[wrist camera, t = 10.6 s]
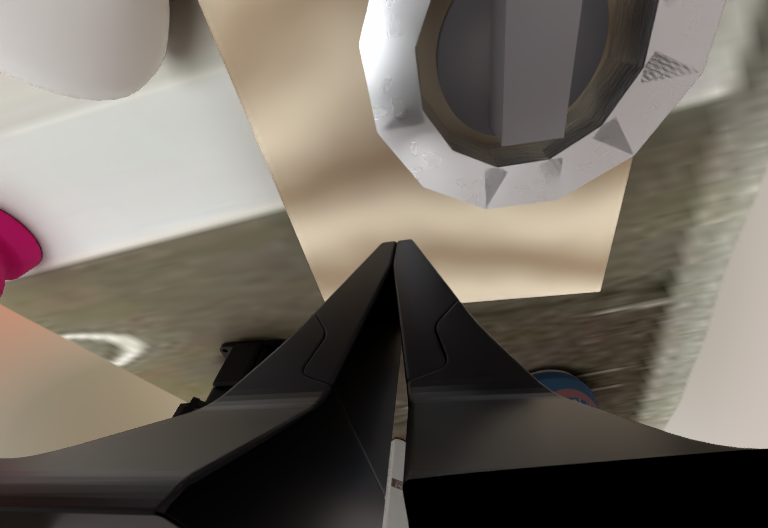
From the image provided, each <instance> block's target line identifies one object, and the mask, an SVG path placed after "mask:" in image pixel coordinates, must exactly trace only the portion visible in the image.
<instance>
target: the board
mask: <svg viewBox="0 0 768 528" xmlns="http://www.w3.org/2000/svg"><path fill="white" fill-rule="evenodd" d="M452 1H453V0H431V1H430V4H429V7H428V10H427V13H426V16H425V19H424V22H423V25H422V28H421V31H420V34H419V37H418V40H417V43H416V49H417V57H418V65H419V73H420V81H421V89H422V95H423V97H424V98H425V99H426V101H427V102H428V104H429V105H430V106H431V108H432V109H433V110H434V112H435V113H436V114H437V116H438V117H439V119H440V120H441V121H442V123H443V124H444V125H445V127H446V128H447V129H448V131H451V132H453V133H456V134H459V135H461V136H464V137H466V138H469V139H472V140H474V141H477V142H480V143H482V144H485V145H492V144H498V143H499V141H498V139H497V138H496V136H491V135H486V134H483V133H480V132H477V131H475V130H473V129H471V128H470V127H468V126H467V125H465V124H464V123H463V122H462V121H461V120H460V119H459V118H457V117H456V115H455V114H454V113H453V111H452V110H451V109H450V107H449V105H448V104H447V102H446V100H445V97H444V95H443V93H442V90H441V86H440V82H439V78H438V74H437V67H436V49H437V41H438V36H439V31H440V28H441V25H442V22H443V19H444V16H445V14H446V12H447V10H448V7H449V6H450V4H451V2H452ZM607 1H608V9H609V27H608V35H607V40H606V45H605V49H604V52H603V55H602V58H601V61H600V63H599V65H598V68H597V70H596V72H595V74H594V76H593V77H592V79H591V81H590V82H589V84H588V86H589V85H590V83H591V82H592V80H593V79H594V77H595V76H596V74H597V72H598V71H599V69H600V68H601V66H602V65H603V63H604V62H605V60H606V59H607V56H608V50H609V44H610V38H611V32H612V26H613V20H614V14H615V8H616V2H617V0H607ZM198 2H199V4H200V7H201V9H202V11H203V14H204V16H205V19H206V21H207V23H208V26H209V28H210V30H211V33H212V35H213V38H214V40H215V42H216V45H217V47H218V49H219V52H220V54H221V57H222V59H223V61H224V64H225V66H226V68H227V71H228V73H229V76H230V78H231V80H232V83H233V85H234V87H235V90H236V92H237V95H238V97H239V99H240V102H241V104H242V106H243V109H244V111H245V113H246V116H247V118H248V121H249V123H250V125H251V128H252V130H253V132H254V135H255V137H256V140H257V142H258V144H259V147H260V149H261V151H262V154H263V156H264V159H265V161H266V163H267V166H268V168H269V170H270V173H271V175H272V178H273V180H274V182H275V185H276V187H277V189H278V192H279V194H280V197H281V199H282V201H283V204H284V206H285V208H286V211H287V213H288V216H289V218H290V220H291V223H292V225H293V227H294V230H295V232H296V235H297V237H298V239H299V242H300V244H301V246H302V249H303V251H304V254H305V256H306V258H307V261H308V263H309V265H310V268H311V270H312V273H313V275H314V277H315V280H316V282H317V284H318V287H319V289H320V292H321V294H322V296H323V299H324V301H326V300H327V299H328V298H329V297H330V296H331V295H332V294H333V293H334V292H335V291H336V290H337V289H338V288H339V287H340V286H341V285H342V284H343V282H344V281H345V280H346V279H347V278H348V277H349V276H350V275H351V274H352V273H353V272H354V271H355V270H356V269H357V268H358V267H359V266H360V265H361V264H362V263H363V262H364V261H365V260H366V259H367V258H368V257H369V256H370V255H371V253H372V252H373V251H374V250H375V249H376V248H377V247H378V246H379V245H380V244H381V243H383V242H391V241H396V242H398V241H399V240H407V239H412V240H413V241H414V242H415V243H416V245H417V246H418V247H419V249H420V250H421V251H422V252H423V254H424V255H425V256H426V258H427V259H428V260H429V262H430V263H431V264H432V265H433V267H434V268H435V269H436V271H437V272H438V273H439V274H440V276H441V277H442V278H443V280H444V281H445V282H446V283H447V285H448V286H449V287H450V289H451V290H452V291H453V293H454V294H455V295H456V296H457V298H458V299H459V301H460V302H461V303H466V302H478V301H491V300H503V299H515V298H527V297H539V296H552V295H564V294H576V293H588V292H600V290H601V286H602V282H603V278H604V274H605V270H606V265H607V261H608V257H609V253H610V249H611V245H612V241H613V237H614V233H615V229H616V224H617V220H618V216H619V212H620V208H621V204H622V200H623V196H624V192H625V188H626V184H627V179H628V175H629V171H630V167H631V163H632V159H633V156H632V157H631V158H629V159H627V160H626V161H624V162H622V163H620V164H619V165H617V166H615V167H614V168H612V169H610V170H608V171H607V172H605V173H603V174H601V175H600V176H598V177H596V178H595V179H593V180H591V181H589V182H588V183H586V184H584V185H583V186H581V187H579V188H577V189H576V190H574V191H572V192H571V193H569V194H567V195H565V196H564V197H562V198H560V199H559V200H553V201H545V202H538V203H530V204H522V205H515V206H507V207H500V208H492V209H483V208H481V207H478V206H475V205H472V204H469V203H467V202H464V201H461V200H458V199H455V198H452V197H450V196H447V195H444V194H441V193H438V192H436V191H433V190H430V189H427V188H424V187H423V186H422V185H421V184H420V183H419V181H418V180H417V179H416V178H415V177H414V176H413V174H412V173H411V172H410V171H409V170H408V168H407V167H406V166H405V165H404V164H403V163H402V161H401V160H400V159H399V158H398V157H397V155H396V154H395V153H394V152H393V151H392V150H391V148H390V147H389V146H388V145H387V144H386V142H385V141H384V140H383V139H382V138H381V137H380V135H379V134H378V133H377V129H376V124H375V120H374V115H373V110H372V105H371V100H370V95H369V91H368V86H367V81H366V76H365V71H364V67H363V62H362V57H361V52H360V47H359V42H360V38H361V33H362V29H363V25H364V21H365V17H366V13H367V8H368V4H369V0H198ZM588 86H587V87H586V88H585V90H584V91H583V92H582V94H581V95H580V96H579V98H578V99H577V100H576V101H575V102H574V103H573V104H572V105H571V106H570V107H569V108H568V110H567V113H568V112H569V111H571V110H572V109H574V108H575V106H576V105H577V103H578V102H579V100H580V99H581V97H582V96H583V94H584V92H585V91H586V89H587V88H588Z"/></svg>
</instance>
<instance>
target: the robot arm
mask: <svg viewBox="0 0 768 528" xmlns="http://www.w3.org/2000/svg"><path fill="white" fill-rule="evenodd" d="M401 346H402V350H403V359H404V368H405V377H406V384H407V395H408V420H407V434H406V447H405V461H404V475H403V497H404V503H405V508H406V514H407V520H408V526H409V528H768V449H752V448H736V447H729V446H722V445H715V444H710V443H706V442H701V441H696V440H692V439H688V438H685V437H681V436H678V435H674V434H671V433H668V432H665V431H662V430H659V429H656V428H653V427H650V426H647V425H644V424H641V423H638V422H635V421H632V420H629V419H626V418H623V417H620V416H618V415H615V414H612V413H609V412H606V411H603V410H600V409H597V408H594V407H591V406H588V405H585V404H582V403H579V402H576V401H573V400H570V399H567V398H565V397H562V396H560V395H558V394H557V393H555V392H553V391H552V390H550V389H549V388H547V387H546V386H545V385H543V384H542V383H541V382H539V381H538V380H537V379H536V378H535V377H534V376H533V375H532V374H531V373H530V372H528V371H527V370H526V369H525V368H524V367H523V366H522V365H521V364H520V363H519V362H518V361H517V360H516V359H515V358H514V357H513V356H511V355H510V354H509V353H508V352H507V351H506V350H505V349H504V348H503V347H502V346H501V345H500V344H499V343H498V342H497V341H496V340H495V339H493V338H492V337H491V336H490V335H489V334H488V333H487V331H486V330H485V329H484V328H483V327H482V326H481V325H480V324H479V323H478V322H477V321H476V320H475V319H474V317H473V316H472V315H471V314H470V313H469V312H468V310H467V309H466V308H465V306H464V305H463V304H462V303H461V302H460V301H459V299H458V298H457V296H456V295H455V294H454V293H453V291H452V290H451V289H450V287H449V286H448V285H447V283H446V282H445V281H444V280H443V278H442V277H441V276H440V274H439V273H438V272H437V271H436V269H435V268H434V267H433V265H432V264H431V263H430V262H429V260H428V259H427V258H426V256H425V255H424V254H423V252H422V251H421V250H420V249H419V247H418V246H417V245H416V243H415V242H414V241H413V240H412V239H407V240H399V241H398V242H396V241H391V242H383V243H381V244H380V245H379V246H378V247H377V248H376V249H375V250H374V251H373V252H372V253H371V255H370V256H369V257H368V258H367V259H366V260H365V261H364V262H363V263H362V264H361V265H360V266H359V267H358V268H357V269H356V270H355V271H354V272H353V273H352V274H351V275H350V276H349V277H348V278H347V279H346V280H345V281H344V282H343V284H342V285H341V286H340V287H339V288H338V289H337V290H336V291H335V292H334V293H333V294H332V295H331V296H330V297H329V298H328V299H327V300H326V301H325V302H324V303H323V304H322V305H321V306H320V307H319V308H318V309H317V310H316V311H315V314H313V315H311V317H310V318H309V319H308V320H307V321H306V322H305V323H304V324H303V325H302V326H301V327H300V328H299V329H298V330H297V331H296V332H295V333H294V334H293V335H292V336H291V337H290V338H288V339H287V340H286V341H285V342H284V341H282V340H273V341H259V342H244V343H229V344H223V345H222V346H221V348H220V351H221V352H222V354H223V355H224V356H225V358H226V360H225V362H224V364H223V366H222V368H221V369H220V371H219V373H218V375H217V377H216V378H215V380H214V382H213V386H214V387H213V389H212V391H211V393H210V394H209V396H208V398H207V400H206V402H204V401H201V400H200V399H199V398H196V397H193V398H192V400H191V402H190V403H184V404H180V406H179V407H178V409H177V410H176V412H175V414H174V415H173V417H172V418H170V419H166V420H163V421H159V422H156V423H152V424H149V425H145V426H142V427H138V428H135V429H131V430H128V431H124V432H121V433H117V434H114V435H110V436H107V437H103V438H100V439H97V440H93V441H90V442H86V443H83V444H79V445H75V446H71V447H68V448H64V449H60V450H56V451H52V452H48V453H43V454H39V455H34V456H28V457H21V458H0V528H382V526H383V517H384V507H385V498H384V497H385V496H386V487H387V478H388V468H389V459H390V450H391V440H392V431H393V421H394V412H395V402H396V393H397V383H398V374H399V364H400V355H401Z"/></svg>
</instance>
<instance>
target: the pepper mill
mask: <svg viewBox="0 0 768 528" xmlns="http://www.w3.org/2000/svg"><path fill="white" fill-rule="evenodd" d="M41 257H42V255H41V250H40V246H39V245H38V243H37V241H36V240H35V238H34V237H33V235H32V234H31V233H30V232H29V231H28V230H27V229H26V228H25V227H24V226H23V225H22V224H21V223H19V222H18V221H17V220H15V219H14V218H13V217H11V216H10V215H8V214H7V213H5V212H3V211H2V210H0V297H1V295H2V293H3V290H4V286H5V280H13V279H17V278H19V277H20V276H22V275H23V274H25V273H26V272H28V271H29V270H31V269H32V268H34V267H35V266H36V265H38V264H39V262H40V260H41Z"/></svg>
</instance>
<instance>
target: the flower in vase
mask: <svg viewBox="0 0 768 528" xmlns="http://www.w3.org/2000/svg"><path fill="white" fill-rule="evenodd" d="M169 20H170V8H169V0H0V72H2V73H4V74H6V75H9V76H11V77H13V78H15V79H18V80H20V81H22V82H25V83H27V84H29V85H32V86H35V87H38V88H41V89H44V90H47V91H50V92H53V93H56V94H60V95H64V96H69V97H73V98H77V99H86V100H96V101H101V100H115V99H119V98H123V97H127V96H129V95H131V94H133V93H135V92H137V91H139V90H140V89H141V88H142V87H143V86H144V85H145V84H146V83H147V82H148V81H149V80H150V79H151V78H152V77H153V76H154V74H155V73H156V72H157V70H158V69H159V67H160V66H161V65H162V62H163V59H164V57H165V54H166V49H167V44H168V33H169Z"/></svg>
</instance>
